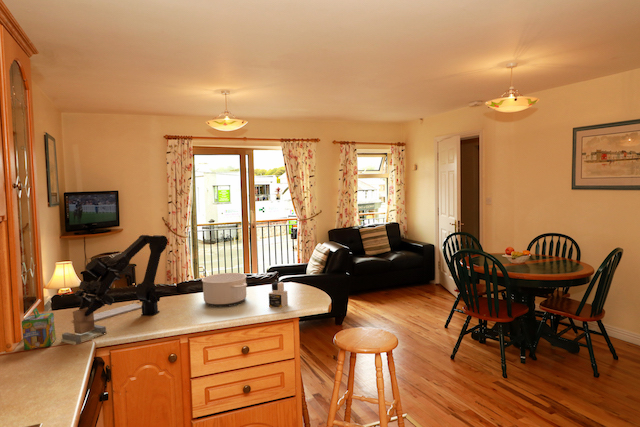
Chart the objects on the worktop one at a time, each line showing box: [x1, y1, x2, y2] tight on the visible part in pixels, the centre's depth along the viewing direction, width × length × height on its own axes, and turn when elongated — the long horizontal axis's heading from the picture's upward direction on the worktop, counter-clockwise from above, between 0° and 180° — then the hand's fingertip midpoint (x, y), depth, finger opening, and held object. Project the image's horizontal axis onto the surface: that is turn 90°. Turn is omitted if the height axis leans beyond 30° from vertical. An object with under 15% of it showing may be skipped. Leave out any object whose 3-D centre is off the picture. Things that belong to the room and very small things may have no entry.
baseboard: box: [72, 301, 142, 323], centre depth 203 cm, size 31×3×12 cm
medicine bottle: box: [268, 281, 289, 309], centre depth 206 cm, size 7×7×12 cm
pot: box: [201, 272, 248, 308], centre depth 216 cm, size 33×23×14 cm
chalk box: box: [21, 307, 57, 351], centre depth 164 cm, size 9×9×15 cm
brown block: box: [72, 307, 95, 334], centre depth 171 cm, size 6×4×9 cm
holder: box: [60, 324, 108, 345], centre depth 171 cm, size 14×9×3 cm, turn 153°
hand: (81, 315), depth 170 cm, fingers closed on brown block, 4 cm apart
